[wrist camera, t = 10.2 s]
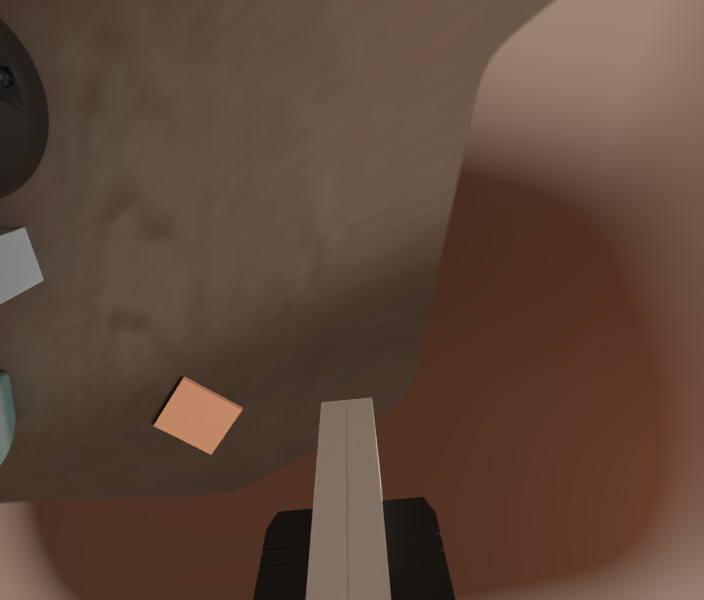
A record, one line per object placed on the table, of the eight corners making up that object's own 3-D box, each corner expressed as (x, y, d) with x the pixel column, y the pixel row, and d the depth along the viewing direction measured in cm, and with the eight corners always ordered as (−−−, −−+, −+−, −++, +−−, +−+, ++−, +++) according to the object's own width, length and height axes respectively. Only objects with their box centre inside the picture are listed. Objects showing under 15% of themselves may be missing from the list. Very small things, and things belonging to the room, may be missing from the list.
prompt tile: (155, 423, 45) (153, 425, 45) (184, 376, 44) (182, 378, 43) (212, 452, 47) (211, 454, 46) (242, 407, 45) (241, 410, 45)
